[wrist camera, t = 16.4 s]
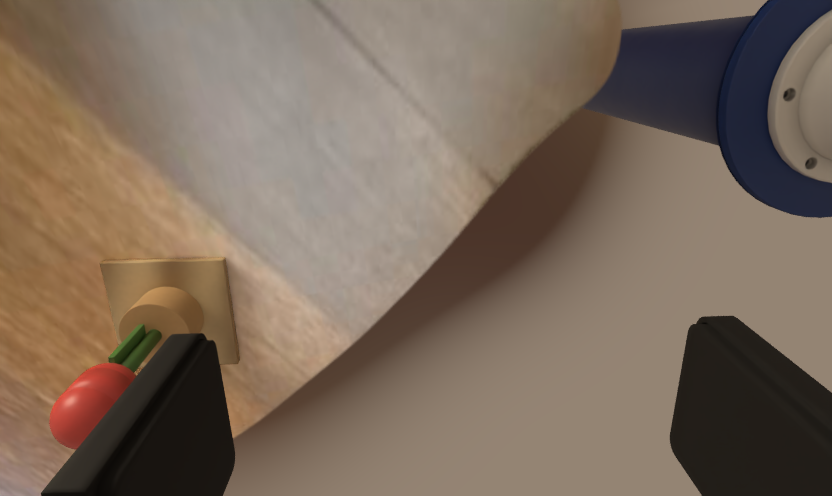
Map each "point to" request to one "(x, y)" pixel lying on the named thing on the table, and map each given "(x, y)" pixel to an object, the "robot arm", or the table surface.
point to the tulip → (123, 361)
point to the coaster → (187, 274)
